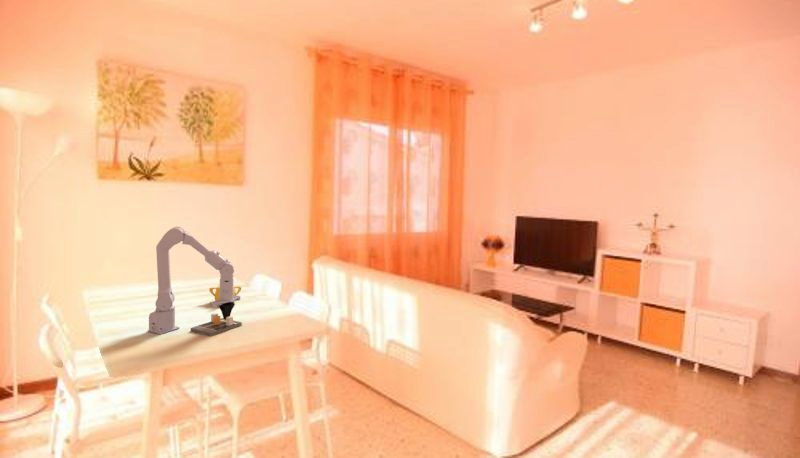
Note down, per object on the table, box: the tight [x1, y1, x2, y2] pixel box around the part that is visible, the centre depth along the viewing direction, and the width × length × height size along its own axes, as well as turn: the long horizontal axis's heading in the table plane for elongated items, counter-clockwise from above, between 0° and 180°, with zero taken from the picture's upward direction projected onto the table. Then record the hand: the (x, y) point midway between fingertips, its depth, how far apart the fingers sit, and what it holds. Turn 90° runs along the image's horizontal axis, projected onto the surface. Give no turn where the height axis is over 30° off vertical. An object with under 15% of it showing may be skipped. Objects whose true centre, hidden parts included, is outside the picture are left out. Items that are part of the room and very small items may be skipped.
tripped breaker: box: [213, 315, 221, 325], centre depth 192 cm, size 2×2×4 cm
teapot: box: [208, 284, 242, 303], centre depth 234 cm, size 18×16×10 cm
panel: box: [190, 312, 243, 337], centre depth 193 cm, size 17×12×5 cm
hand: (226, 319), depth 197 cm, fingers closed
